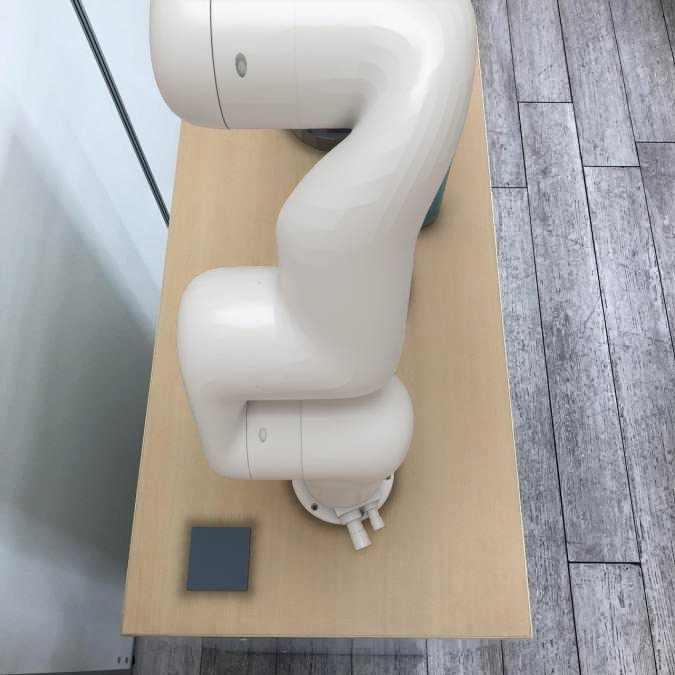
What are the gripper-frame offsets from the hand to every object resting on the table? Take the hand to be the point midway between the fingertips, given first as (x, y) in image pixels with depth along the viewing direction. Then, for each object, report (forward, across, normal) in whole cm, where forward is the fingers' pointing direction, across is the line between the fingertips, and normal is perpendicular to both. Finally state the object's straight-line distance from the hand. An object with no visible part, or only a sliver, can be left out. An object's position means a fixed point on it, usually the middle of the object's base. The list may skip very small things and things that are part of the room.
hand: (339, 42), depth 86 cm
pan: (+13, 0, 0) cm, 13 cm away
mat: (+12, -14, -66) cm, 69 cm away
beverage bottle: (+13, +11, -19) cm, 26 cm away
